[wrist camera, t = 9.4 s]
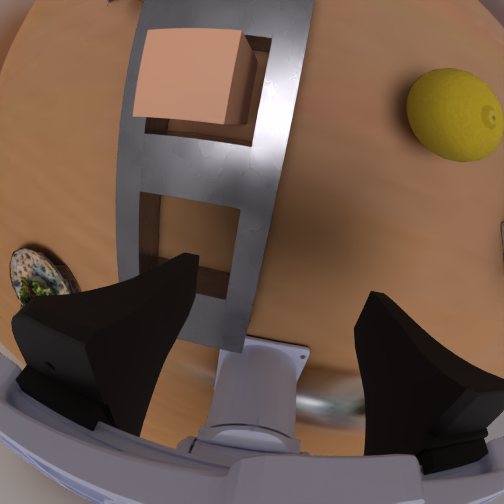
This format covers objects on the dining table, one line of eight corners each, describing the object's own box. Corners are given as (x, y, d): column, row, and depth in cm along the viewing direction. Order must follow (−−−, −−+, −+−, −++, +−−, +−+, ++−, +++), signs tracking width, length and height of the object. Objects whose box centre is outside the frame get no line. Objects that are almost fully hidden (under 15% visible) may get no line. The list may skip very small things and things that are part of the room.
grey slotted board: (247, 325, 24) (241, 353, 21) (140, 299, 25) (123, 322, 21) (313, 0, 13) (318, -21, 10) (172, -9, 13) (152, -26, 10)
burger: (72, 246, 24) (22, 286, 17) (98, 338, 29) (66, 383, 22) (8, 237, 24) (-35, 265, 18) (33, 316, 30) (2, 350, 23)
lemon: (374, 109, 16) (428, 104, 9) (419, 61, 14) (484, 40, 6) (425, 167, 17) (491, 198, 10) (466, 120, 15) (538, 131, 8)
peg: (246, 124, 17) (223, 124, 11) (183, 116, 18) (132, 116, 11) (257, 62, 15) (241, 30, 9) (193, 56, 16) (147, 30, 9)
